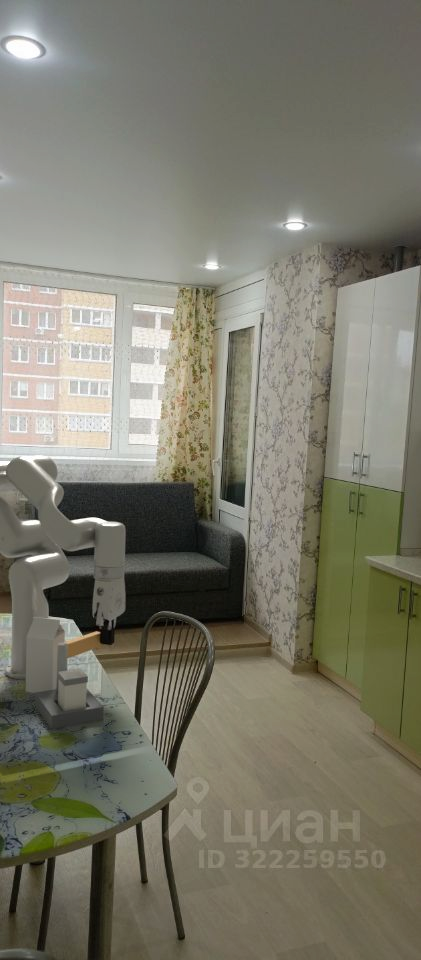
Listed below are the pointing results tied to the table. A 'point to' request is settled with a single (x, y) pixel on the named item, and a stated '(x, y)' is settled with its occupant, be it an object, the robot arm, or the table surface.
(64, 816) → the table surface
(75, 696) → the plug
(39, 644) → the milk carton
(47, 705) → the socket
